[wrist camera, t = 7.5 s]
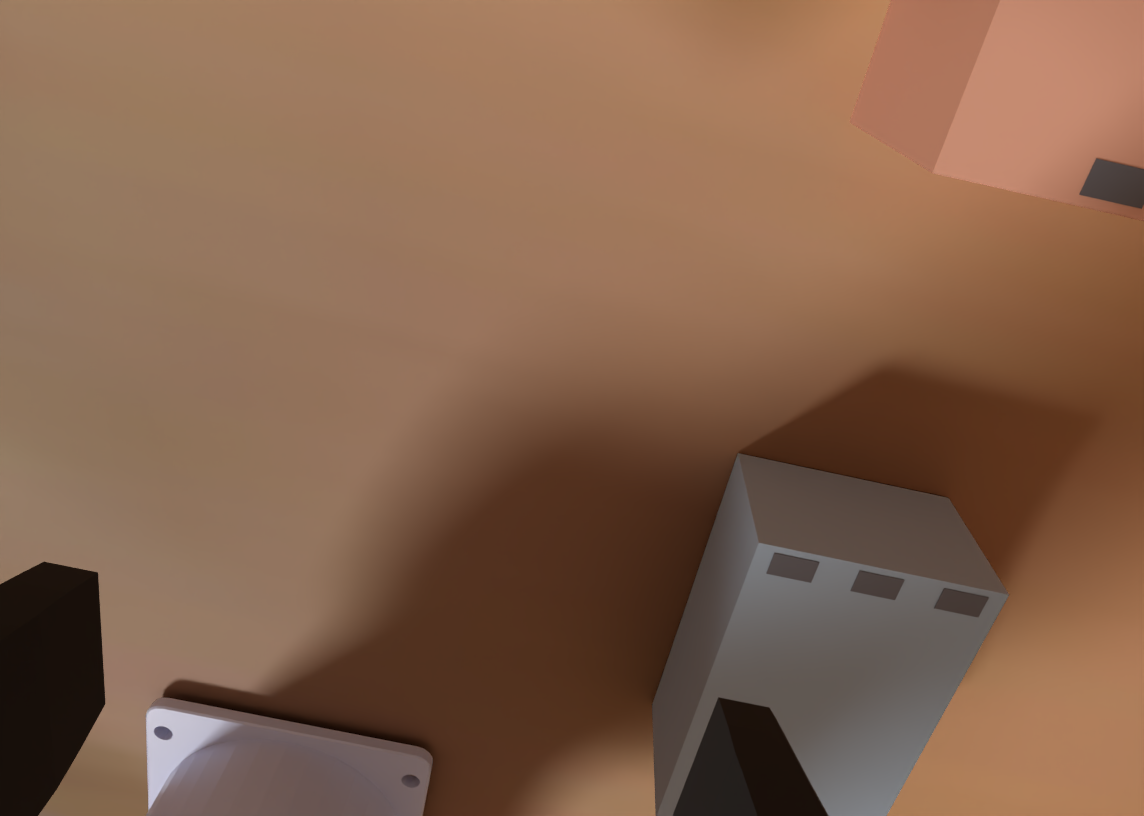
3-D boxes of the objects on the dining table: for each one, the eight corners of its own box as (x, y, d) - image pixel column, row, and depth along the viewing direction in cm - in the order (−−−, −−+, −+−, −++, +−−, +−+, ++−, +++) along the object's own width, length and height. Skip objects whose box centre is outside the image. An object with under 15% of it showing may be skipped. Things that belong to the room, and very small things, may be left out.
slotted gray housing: (831, 740, 23) (862, 858, 20) (652, 704, 23) (656, 819, 20) (948, 497, 20) (1009, 595, 16) (738, 453, 19) (758, 543, 16)
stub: (1098, 179, 16) (1276, 250, 12) (848, 121, 16) (933, 173, 12) (1221, -78, 14) (1488, -108, 10) (938, -147, 14) (1082, -208, 10)
